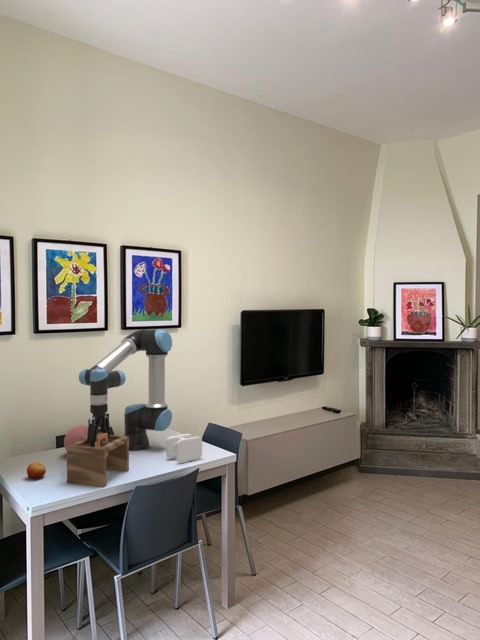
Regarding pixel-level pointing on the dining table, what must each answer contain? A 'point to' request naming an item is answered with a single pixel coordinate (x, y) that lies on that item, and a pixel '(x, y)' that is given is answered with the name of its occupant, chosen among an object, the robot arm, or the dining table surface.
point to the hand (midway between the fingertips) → (99, 453)
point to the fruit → (35, 470)
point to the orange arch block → (102, 439)
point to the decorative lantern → (75, 435)
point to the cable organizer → (184, 448)
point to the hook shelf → (96, 460)
